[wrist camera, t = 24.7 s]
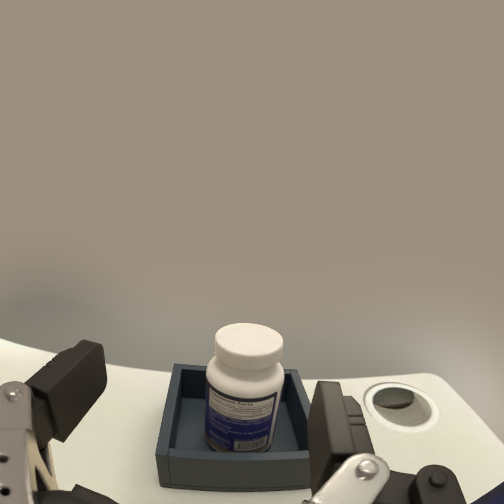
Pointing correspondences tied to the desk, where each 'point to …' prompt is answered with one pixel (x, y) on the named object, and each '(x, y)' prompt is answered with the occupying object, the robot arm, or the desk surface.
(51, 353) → the desk surface
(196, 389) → the bin
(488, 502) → the decorative orb
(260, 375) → the pill bottle
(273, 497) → the desk surface
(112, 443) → the desk surface
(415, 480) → the robot arm
